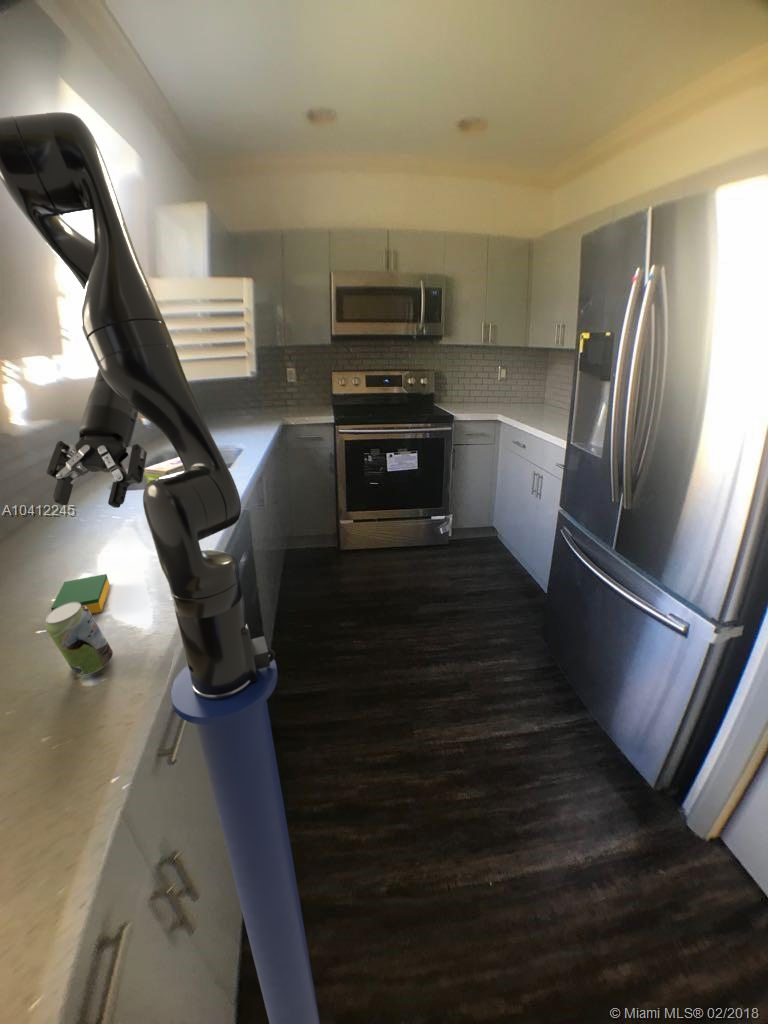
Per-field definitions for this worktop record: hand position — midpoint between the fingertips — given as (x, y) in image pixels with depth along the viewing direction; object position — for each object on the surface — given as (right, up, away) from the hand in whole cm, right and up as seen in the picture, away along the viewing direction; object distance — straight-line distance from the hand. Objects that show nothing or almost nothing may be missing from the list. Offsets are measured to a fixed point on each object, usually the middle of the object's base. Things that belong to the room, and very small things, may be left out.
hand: (87, 505), depth 72 cm
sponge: (-16, -20, +23) cm, 34 cm away
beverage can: (-2, -27, +4) cm, 28 cm away
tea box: (-17, 0, +75) cm, 77 cm away
